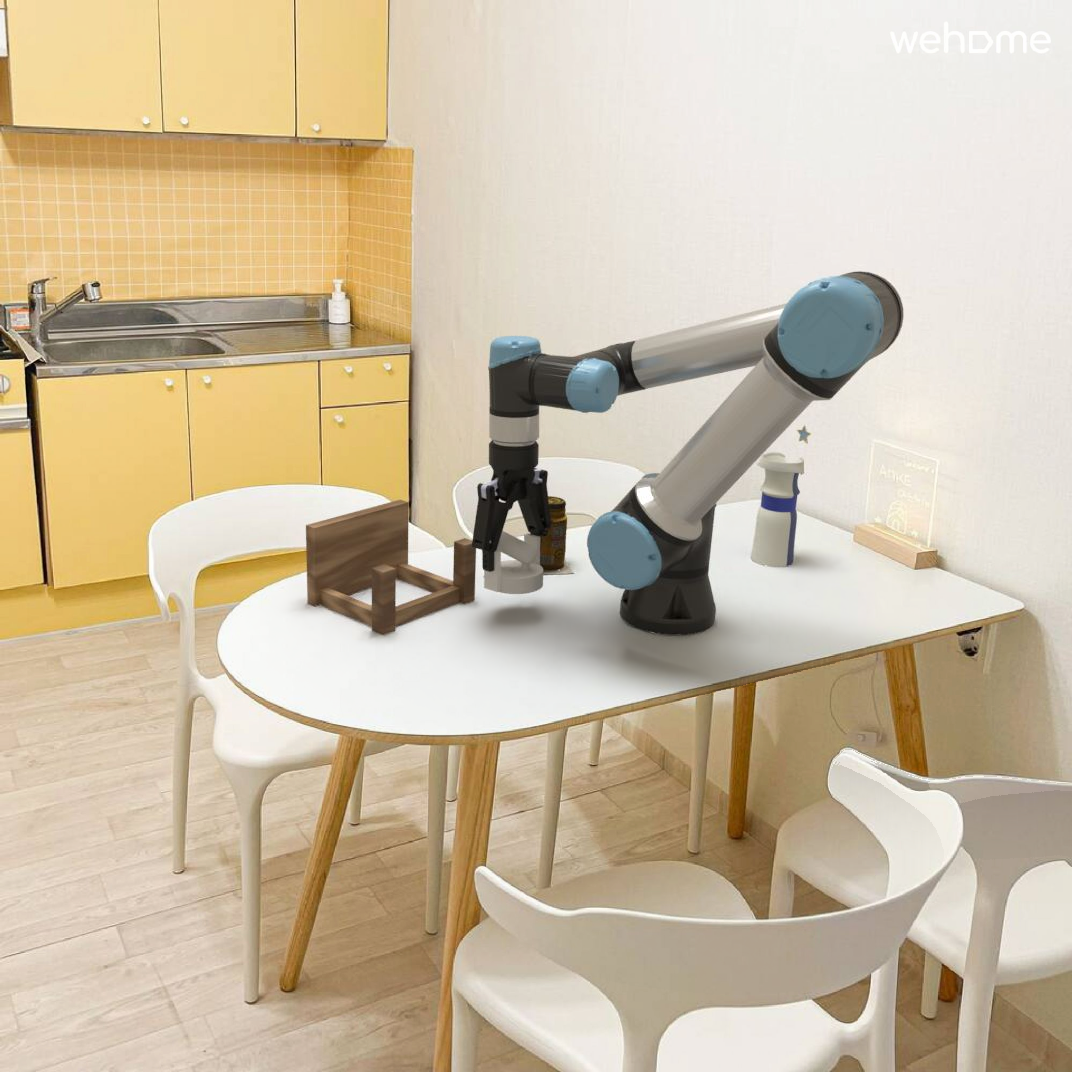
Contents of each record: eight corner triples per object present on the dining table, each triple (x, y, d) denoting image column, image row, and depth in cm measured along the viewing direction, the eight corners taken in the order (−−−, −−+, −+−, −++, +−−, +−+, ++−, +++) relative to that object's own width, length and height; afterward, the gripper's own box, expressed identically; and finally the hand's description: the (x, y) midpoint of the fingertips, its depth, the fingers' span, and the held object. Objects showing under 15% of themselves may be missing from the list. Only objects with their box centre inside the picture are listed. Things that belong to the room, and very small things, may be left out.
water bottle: (759, 548, 218) (774, 418, 210) (801, 558, 213) (818, 426, 205) (739, 559, 211) (754, 426, 203) (783, 570, 207) (799, 434, 199)
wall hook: (487, 515, 183) (549, 520, 181) (487, 572, 186) (548, 577, 184) (472, 531, 175) (537, 536, 173) (472, 590, 178) (536, 596, 176)
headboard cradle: (474, 600, 187) (476, 524, 183) (383, 635, 173) (383, 553, 168) (399, 572, 198) (400, 499, 193) (307, 602, 183) (305, 525, 179)
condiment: (562, 557, 208) (565, 493, 205) (573, 574, 201) (577, 508, 197) (522, 558, 207) (525, 494, 203) (532, 575, 199) (535, 509, 195)
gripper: (540, 425, 184) (537, 559, 191) (446, 448, 168) (447, 593, 175) (577, 433, 179) (573, 570, 186) (484, 457, 164) (483, 606, 171)
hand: (512, 581), depth 181 cm, fingers closed on wall hook, 9 cm apart
